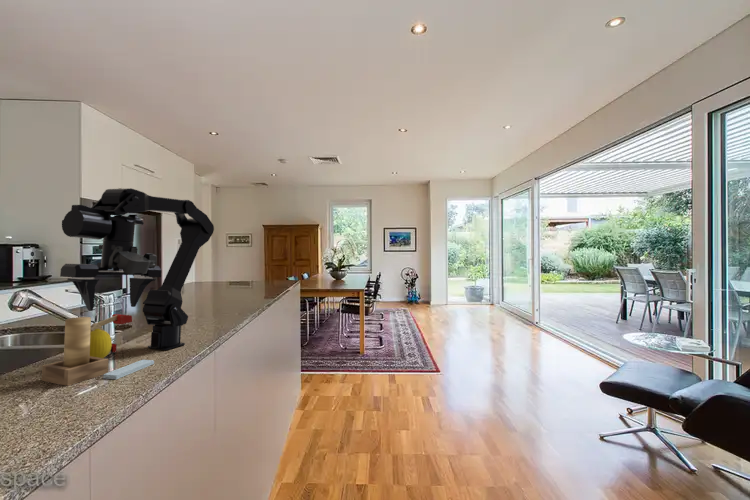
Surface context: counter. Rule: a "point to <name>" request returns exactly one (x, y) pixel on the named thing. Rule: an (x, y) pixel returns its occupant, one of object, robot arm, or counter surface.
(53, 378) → the square wooden tray
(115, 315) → the toy fire truck
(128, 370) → the plate
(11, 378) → the counter surface
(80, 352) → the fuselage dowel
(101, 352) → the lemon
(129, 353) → the counter surface
